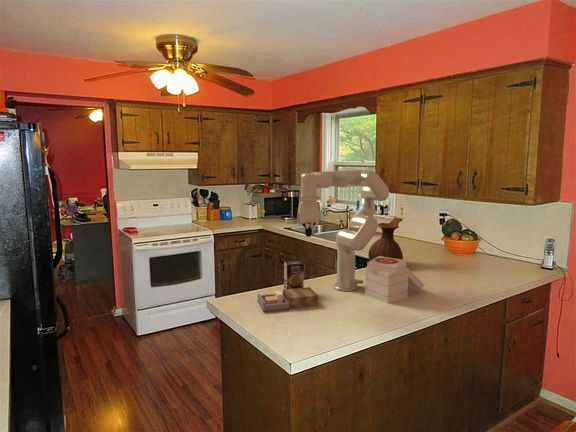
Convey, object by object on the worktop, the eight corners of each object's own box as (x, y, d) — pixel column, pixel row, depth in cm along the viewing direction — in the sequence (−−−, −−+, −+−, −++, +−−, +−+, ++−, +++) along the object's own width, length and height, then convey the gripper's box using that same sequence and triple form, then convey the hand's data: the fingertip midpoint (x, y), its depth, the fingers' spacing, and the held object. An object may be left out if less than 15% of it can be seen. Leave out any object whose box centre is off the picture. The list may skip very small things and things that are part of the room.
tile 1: (264, 296, 196) (264, 302, 196) (266, 300, 191) (266, 306, 191) (274, 295, 197) (274, 301, 197) (277, 299, 192) (277, 305, 193)
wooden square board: (309, 296, 206) (309, 287, 205) (317, 305, 195) (317, 295, 194) (282, 299, 202) (282, 289, 201) (289, 308, 191) (289, 298, 190)
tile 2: (280, 290, 198) (274, 291, 197) (283, 294, 193) (277, 294, 192) (280, 300, 198) (274, 301, 198) (283, 304, 194) (277, 305, 193)
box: (281, 298, 203) (281, 291, 202) (289, 309, 190) (289, 301, 189) (257, 301, 200) (257, 293, 199) (263, 312, 187) (263, 303, 186)
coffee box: (286, 295, 208) (286, 264, 205) (283, 291, 214) (283, 261, 211) (303, 293, 210) (304, 263, 207) (300, 289, 216) (300, 260, 214)
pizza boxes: (427, 293, 212) (429, 259, 209) (387, 305, 195) (389, 268, 192) (397, 283, 227) (399, 251, 224) (358, 293, 210) (359, 259, 207)
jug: (407, 271, 250) (409, 222, 245) (371, 270, 250) (373, 222, 245) (398, 261, 271) (400, 216, 266) (365, 261, 272) (367, 216, 267)
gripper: (320, 197, 203) (320, 234, 206) (291, 198, 199) (291, 235, 202) (326, 199, 196) (325, 237, 199) (296, 200, 192) (296, 238, 195)
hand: (308, 236), depth 201 cm, fingers closed
